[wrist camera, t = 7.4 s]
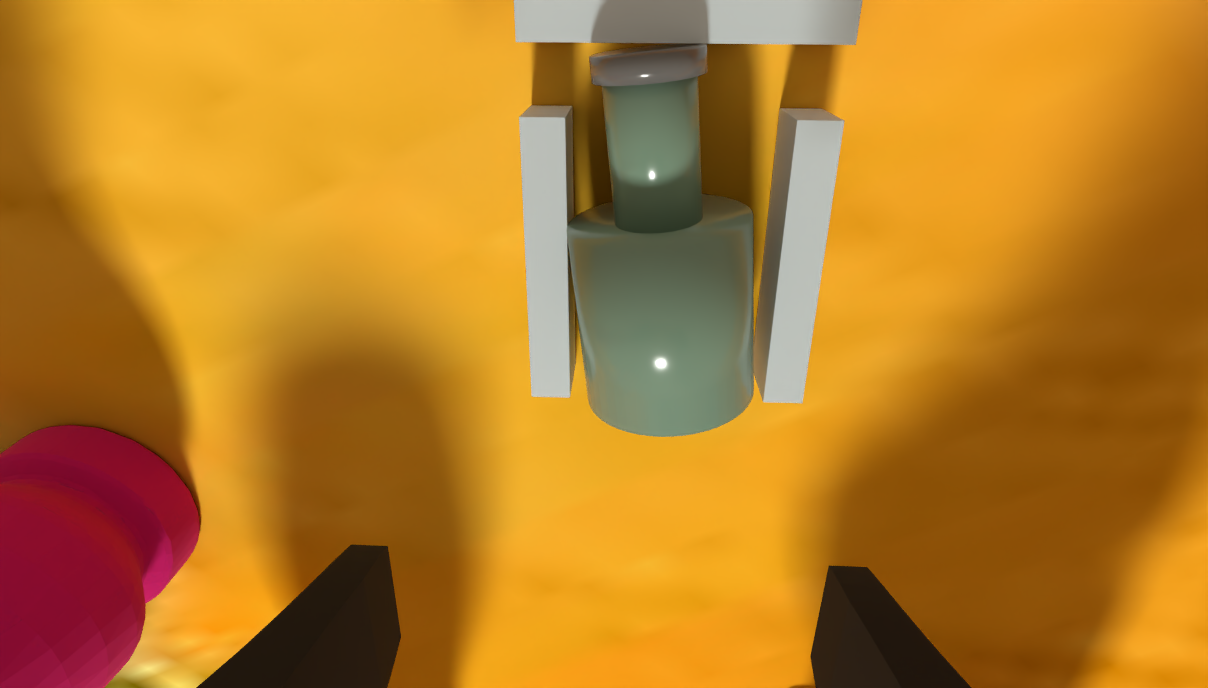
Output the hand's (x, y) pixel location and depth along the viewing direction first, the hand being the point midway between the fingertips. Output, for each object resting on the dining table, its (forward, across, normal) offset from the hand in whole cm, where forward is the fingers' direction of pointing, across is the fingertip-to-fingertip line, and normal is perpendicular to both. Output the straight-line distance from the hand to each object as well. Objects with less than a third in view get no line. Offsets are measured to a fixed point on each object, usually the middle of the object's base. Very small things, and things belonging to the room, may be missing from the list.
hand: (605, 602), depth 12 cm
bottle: (+7, -1, 0) cm, 7 cm away
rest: (+9, -1, -4) cm, 10 cm away
